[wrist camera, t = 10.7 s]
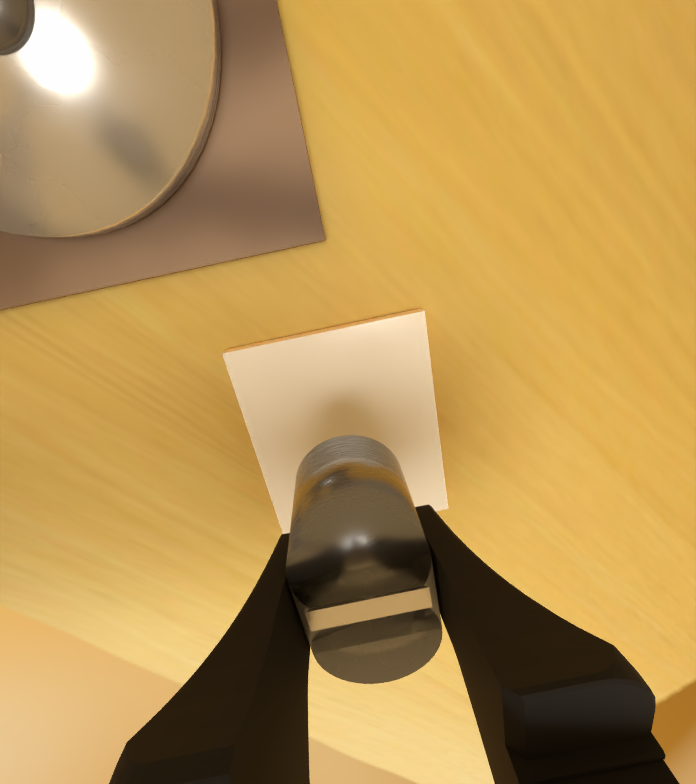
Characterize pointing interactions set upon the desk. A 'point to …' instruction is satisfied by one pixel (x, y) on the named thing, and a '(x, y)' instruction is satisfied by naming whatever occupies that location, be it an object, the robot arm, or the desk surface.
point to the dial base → (200, 184)
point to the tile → (342, 400)
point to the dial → (101, 109)
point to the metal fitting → (361, 564)
